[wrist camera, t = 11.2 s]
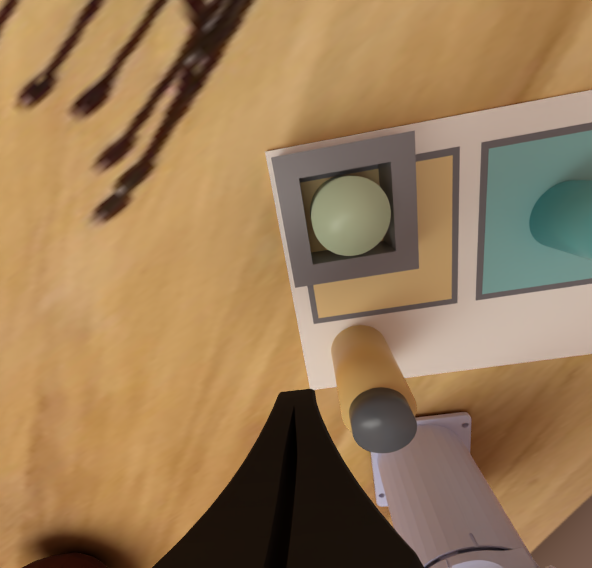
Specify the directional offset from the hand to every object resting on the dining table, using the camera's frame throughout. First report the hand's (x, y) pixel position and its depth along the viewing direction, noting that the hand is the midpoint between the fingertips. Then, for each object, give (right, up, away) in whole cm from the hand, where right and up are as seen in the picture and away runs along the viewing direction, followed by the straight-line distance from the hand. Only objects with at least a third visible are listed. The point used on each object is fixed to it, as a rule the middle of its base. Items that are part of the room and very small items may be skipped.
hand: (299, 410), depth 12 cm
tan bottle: (+4, 0, +10) cm, 11 cm away
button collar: (+3, +10, +7) cm, 12 cm away
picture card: (+11, +7, +8) cm, 15 cm away
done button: (+3, +9, +6) cm, 12 cm away
